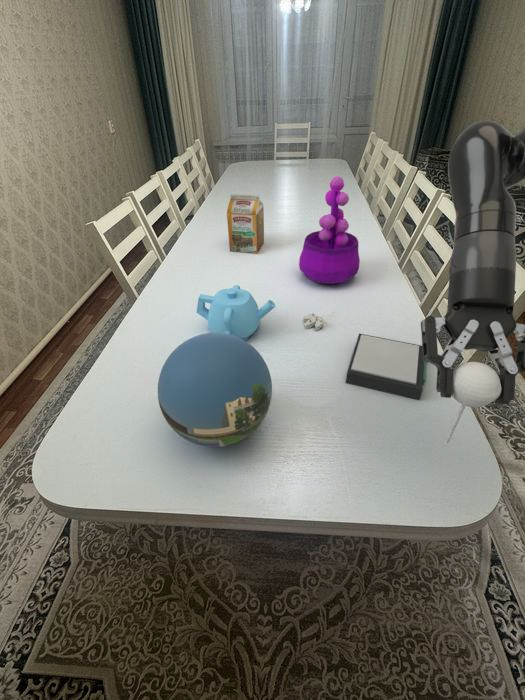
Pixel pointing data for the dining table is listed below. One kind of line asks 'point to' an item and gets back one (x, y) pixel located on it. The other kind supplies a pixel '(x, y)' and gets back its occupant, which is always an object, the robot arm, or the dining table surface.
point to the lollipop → (473, 387)
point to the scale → (388, 366)
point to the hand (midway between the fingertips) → (473, 400)
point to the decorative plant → (331, 243)
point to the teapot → (233, 312)
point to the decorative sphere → (214, 389)
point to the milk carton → (245, 223)
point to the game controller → (313, 321)
